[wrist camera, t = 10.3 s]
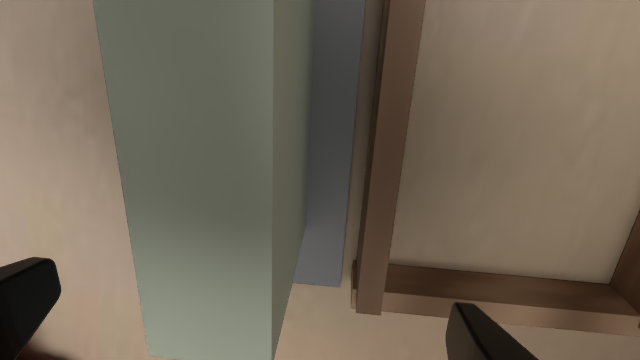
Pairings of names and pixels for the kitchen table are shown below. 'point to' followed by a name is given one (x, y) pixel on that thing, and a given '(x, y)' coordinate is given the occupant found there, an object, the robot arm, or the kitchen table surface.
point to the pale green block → (211, 164)
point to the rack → (449, 285)
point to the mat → (330, 138)
